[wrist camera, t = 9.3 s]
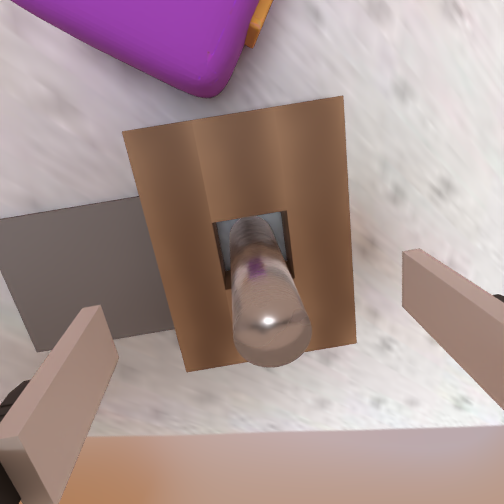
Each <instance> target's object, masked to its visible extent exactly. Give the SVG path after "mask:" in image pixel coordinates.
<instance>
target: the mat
mask: <svg viewBox="0 0 504 504" xmlns="http://www.w3.org/2000/svg"><path fill="white" fill-rule="evenodd" d="M0 271H1V273H2V275H3V277H4V279H5V282H6V284H7V286H8V288H9V291H10V293H11V295H12V297H13V300H14V302H15V304H16V306H17V309H18V311H19V313H20V315H21V318H22V320H23V322H24V324H25V327H26V329H27V331H28V333H29V336H30V338H31V340H32V342H33V345H34V347H35V349H36V351H37V352H43V351H48V350H53V348H54V347H55V345H56V344H57V343H58V341H59V340H60V338H61V337H62V336H63V334H64V333H65V332H66V330H67V329H68V327H69V326H70V325H71V323H72V322H73V320H74V319H75V318H76V316H77V315H78V313H79V312H80V311H81V309H82V308H85V307H90V306H96V305H101V308H102V310H103V313H104V316H105V319H106V322H107V325H108V328H109V330H110V333H111V336H112V339H119V338H125V337H131V336H137V335H143V334H149V333H154V332H160V331H166V330H172V329H175V327H174V324H173V320H172V316H171V313H170V309H169V305H168V301H167V298H166V294H165V290H164V287H163V283H162V279H161V275H160V272H159V268H158V264H157V261H156V257H155V253H154V249H153V246H152V242H151V238H150V235H149V231H148V227H147V223H146V220H145V216H144V212H143V208H142V205H141V201H140V197H139V196H137V197H131V198H125V199H119V200H113V201H107V202H101V203H95V204H89V205H83V206H77V207H71V208H65V209H59V210H52V211H46V212H40V213H34V214H28V215H22V216H16V217H10V218H4V219H0Z"/></svg>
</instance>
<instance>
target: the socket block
mask: <svg viewBox="0 0 504 504" xmlns="http://www.w3.org/2000/svg"><path fill="white" fill-rule="evenodd" d="M122 134H123V138H124V142H125V145H126V149H127V153H128V156H129V160H130V164H131V168H132V171H133V175H134V179H135V182H136V186H137V190H138V194H139V197H140V201H141V205H142V208H143V212H144V216H145V220H146V223H147V227H148V231H149V235H150V238H151V242H152V246H153V249H154V253H155V257H156V261H157V264H158V268H159V272H160V275H161V279H162V283H163V287H164V290H165V294H166V298H167V301H168V305H169V309H170V313H171V316H172V320H173V324H174V327H175V331H176V335H177V339H178V342H179V346H180V350H181V353H182V357H183V361H184V365H185V368H186V372H192V371H198V370H203V369H209V368H215V367H221V366H227V365H233V364H238V363H244V362H248V361H247V360H245V359H244V358H243V357H242V356H241V355H240V354H239V352H238V351H237V349H236V347H235V344H234V340H233V320H232V292H231V270H230V271H225V267H224V262H223V257H222V252H221V247H220V241H219V236H218V231H217V226H216V222H220V221H226V220H232V219H238V218H244V217H250V216H256V215H262V214H268V213H274V212H280V211H281V215H282V223H283V231H284V239H285V247H286V255H287V261H285V263H286V265H287V267H288V270H289V272H290V274H291V277H292V279H293V282H294V284H295V286H296V289H297V291H298V293H299V296H300V298H301V301H302V303H303V305H304V308H305V310H306V312H307V315H308V317H309V320H310V322H311V327H312V336H311V340H310V343H309V345H308V347H307V349H306V350H305V351H304V352H308V351H314V350H320V349H326V348H332V347H338V346H343V345H349V344H355V343H357V340H356V321H355V303H354V285H353V266H352V248H351V229H350V211H349V192H348V174H347V155H346V137H345V118H344V100H343V96H338V97H332V98H325V99H319V100H313V101H307V102H301V103H295V104H289V105H282V106H276V107H270V108H264V109H258V110H252V111H245V112H239V113H233V114H227V115H221V116H215V117H209V118H202V119H196V120H190V121H184V122H178V123H172V124H165V125H159V126H153V127H147V128H141V129H135V130H129V131H122Z"/></svg>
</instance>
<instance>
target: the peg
mask: <svg viewBox="0 0 504 504" xmlns="http://www.w3.org/2000/svg"><path fill="white" fill-rule="evenodd" d="M230 264H231V292H232V320H233V340H234V344H235V347H236V349H237V351H238V352H239V354H240V355H241V356H242V357H243V358H244V359H245V360H247V361H248V362H250V363H252V364H254V365H257V366H261V367H279V366H283V365H286V364H288V363H291V362H292V361H294V360H296V359H297V358H298V357H300V356H301V355H302V354H303V353H304V351H305V350H306V349H307V347H308V345H309V343H310V340H311V336H312V327H311V322H310V320H309V317H308V315H307V312H306V310H305V308H304V305H303V303H302V301H301V298H300V296H299V293H298V291H297V289H296V286H295V284H294V282H293V279H292V277H291V274H290V272H289V270H288V267H287V265H286V263H285V260H284V258H283V255H282V253H281V251H280V248H279V246H278V244H277V241H276V239H275V236H274V234H273V232H272V229H271V227H270V225H269V224H268V223H267V222H266V221H265V220H264V219H262V218H260V217H257V216H250V217H244V218H241V219H239V220H238V221H237V222H235V224H234V225H233V226H232V228H231V231H230Z"/></svg>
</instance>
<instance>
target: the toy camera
mask: <svg viewBox="0 0 504 504" xmlns="http://www.w3.org/2000/svg"><path fill="white" fill-rule="evenodd" d="M11 1H13V2H14V3H16V4H17V5H19V6H20V7H22V8H24V9H25V10H27V11H29V12H30V13H32V14H34V15H35V16H37V17H39V18H41V19H42V20H44V21H46V22H48V23H50V24H52V25H53V26H55V27H57V28H59V29H61V30H62V31H64V32H66V33H68V34H70V35H72V36H73V37H75V38H77V39H79V40H81V41H83V42H85V43H87V44H88V45H90V46H92V47H94V48H96V49H98V50H100V51H102V52H104V53H106V54H108V55H110V56H112V57H114V58H116V59H118V60H120V61H122V62H125V63H127V64H129V65H131V66H133V67H135V68H137V69H139V70H141V71H143V72H145V73H147V74H149V75H151V76H153V77H155V78H157V79H159V80H161V81H163V82H165V83H167V84H169V85H171V86H173V87H175V88H177V89H179V90H182V91H184V92H186V93H189V94H191V95H194V96H197V97H202V98H211V97H214V96H216V95H218V94H219V93H220V92H221V91H222V90H223V89H224V87H225V86H226V85H227V83H228V81H229V79H230V77H231V75H232V73H233V70H234V68H235V66H236V64H237V61H238V59H239V56H240V54H241V52H242V49H243V47H244V45H246V46H248V47H250V48H253V47H254V45H255V43H256V40H257V38H258V35H259V33H260V31H261V28H262V26H263V23H264V21H265V18H266V16H267V14H268V11H269V9H270V6H271V4H272V1H273V0H11Z"/></svg>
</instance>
